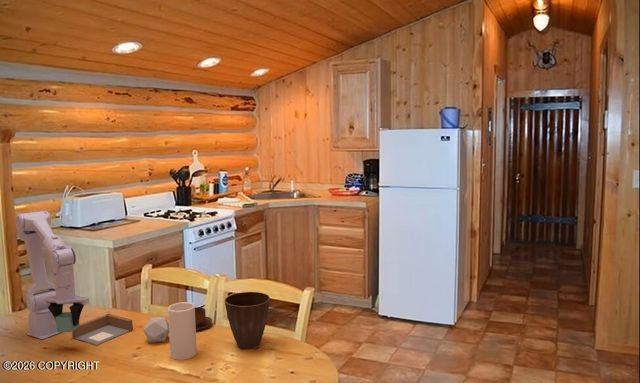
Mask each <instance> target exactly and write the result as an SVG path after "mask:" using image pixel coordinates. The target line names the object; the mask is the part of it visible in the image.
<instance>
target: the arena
mask: <svg viewBox="0 0 640 383" xmlns="http://www.w3.org/2000/svg"><path fill="white" fill-rule="evenodd" d="M79 325H80V326H79V327H78V328H77V329H75V330H74V331H72V332H71V334H72V339H74V340H77V341H80V342H84V343H87V344H90V345H94V346H99V345H102V344H104V343H107V342H108V341H111V340H114V339H115V338H118V337H121V336H123V335H125V334H127V333H130V332H132V331H133V330H134V329H133V327H134V326H133V319H131V318H127V317H124V316H118V315H115V314H111V313H107V314H103V315H102V316H99V317H96V318H94V319H91V320H87V321H85V322H83V323H79Z"/></svg>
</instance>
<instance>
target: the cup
mask: <svg viewBox="0 0 640 383" xmlns="http://www.w3.org/2000/svg"><path fill="white" fill-rule="evenodd" d="M195 305H196V304H194V303H193V302H187V301H183V302H177V303H172V304H170V305H169V306H168V308H167V311H168V312H167V313H168V314H167V315H168V323H169V334H168V336H169V350H170V351H169V352H170V354H169V355H170V358H171V359H173V360H177V361H182V360H189V359H191V358H194V357H195V356H196V355H197V354H198V351H197V330H196V324H195Z"/></svg>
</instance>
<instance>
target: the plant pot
mask: <svg viewBox="0 0 640 383" xmlns="http://www.w3.org/2000/svg"><path fill="white" fill-rule="evenodd" d="M270 299H271V297H270V296H269V294H267V293H264V292H259V291H258V292H257V291H244V292H237V293H232V294H230V295H228V296H227V297H225V298H224V305H225V311H226V316H227V319H228V323H229V327H230V331H231V333H232V335H233V338H234V341H235V343H236V346H237V347H238V348H239V349H243V350H251V349H255V348H257V347H259V345H260V344H261V341H262V338H263V335H264V332H265V329H266V324H267V321H268V320H267V319H268V314H269V308H270Z"/></svg>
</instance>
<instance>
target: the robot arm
mask: <svg viewBox="0 0 640 383" xmlns="http://www.w3.org/2000/svg"><path fill="white" fill-rule="evenodd" d="M51 222H52V221H51V215H50V213H49V212H48V210H42V211H41V210H40V211H35V212H34V211H33V212H25V213H18V214H17V215H16V216H15V227H16V228H15V229H16V233H17V235H18V238H19V239H22V240H23V242H24V245H25V251H26V254H27V259H28V265H29V270H30V274H31V279H32V285H31V286H30V287H29V288H28V289H27V291H26V292H25V293H26V294H25V296H26V297H25V298H26V299H25V300H26V301H25V303H26V306H27V307H26V308H27V310H28V311H29V313H28V315H27V320H28V321H27V322H28V330H29V332H27V333H26V335H28V336H30V337H33V338H37V339H40V340H46V339H48V338H51V337H54V336H56V335H59V334H61V333H62V332H57V330H56V318H55V317H57V316H58V315H60V314H62V313H63V312H64V311H63V309H64V304H65V305H67V304H68V305H71V304H72V305H71V306H69V310H70V311H69V312H71V314H72V320H73V326H76V325H78V324H80V318H81V315H82V311H83V309H84V307H85V306H86V305H88V304H89V302H90V301H89V300H90V298H89V297H87V296H86V297H85V296H79V295H76V286H75V273H74V265H75V264H76V261H77V254H76V252H75V249H74V248H73V247H71V246H68V245H66V243H65V242H64V241H63V239H62V238H61V236H59V235H58V234H54V232H53V229H52V227H51V224H52V223H51ZM41 240H43V241H42V243H41ZM42 247H43V248H44V249H45V251H46V252H47V254H48V256H49V262H50V265H51V270H52V273H53V274H54V283H53V282H51V281H49V277H48V272H47V268H46V267H47V266H46V263H45V259H44V258H45V256H44V253H43V249H42Z"/></svg>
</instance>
